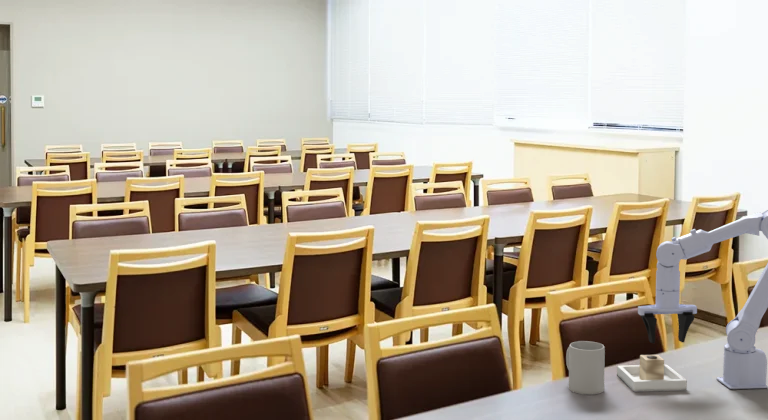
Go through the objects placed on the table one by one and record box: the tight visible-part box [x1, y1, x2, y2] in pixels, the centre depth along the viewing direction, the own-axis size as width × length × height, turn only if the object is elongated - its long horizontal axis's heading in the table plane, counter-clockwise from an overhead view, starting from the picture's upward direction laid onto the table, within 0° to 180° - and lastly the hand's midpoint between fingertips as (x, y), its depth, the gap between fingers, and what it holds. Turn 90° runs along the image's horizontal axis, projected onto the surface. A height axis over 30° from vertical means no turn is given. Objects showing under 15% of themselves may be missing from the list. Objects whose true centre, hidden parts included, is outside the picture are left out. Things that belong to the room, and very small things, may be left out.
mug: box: [565, 340, 606, 396], centre depth 206 cm, size 12×8×11 cm
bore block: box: [639, 354, 665, 380], centre depth 209 cm, size 4×4×6 cm
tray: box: [616, 363, 688, 393], centre depth 210 cm, size 13×13×2 cm
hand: (666, 341), depth 212 cm, fingers open, 7 cm apart
